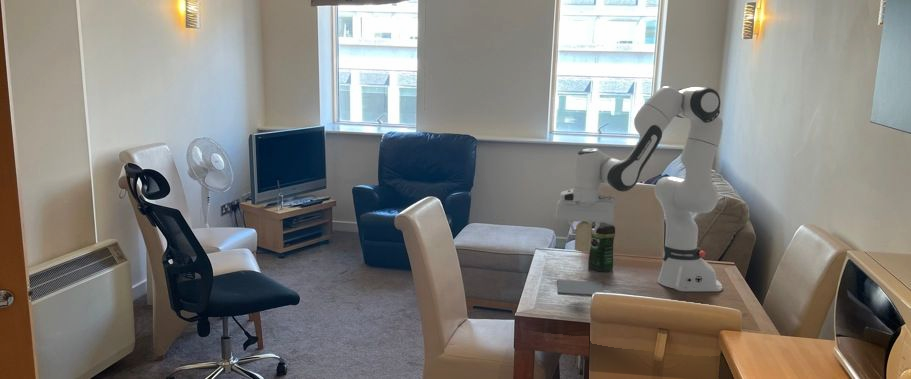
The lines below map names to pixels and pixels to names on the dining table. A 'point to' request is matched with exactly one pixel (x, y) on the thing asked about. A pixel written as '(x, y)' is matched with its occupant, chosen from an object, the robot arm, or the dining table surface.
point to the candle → (583, 237)
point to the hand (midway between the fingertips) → (583, 233)
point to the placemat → (579, 287)
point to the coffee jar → (602, 248)
